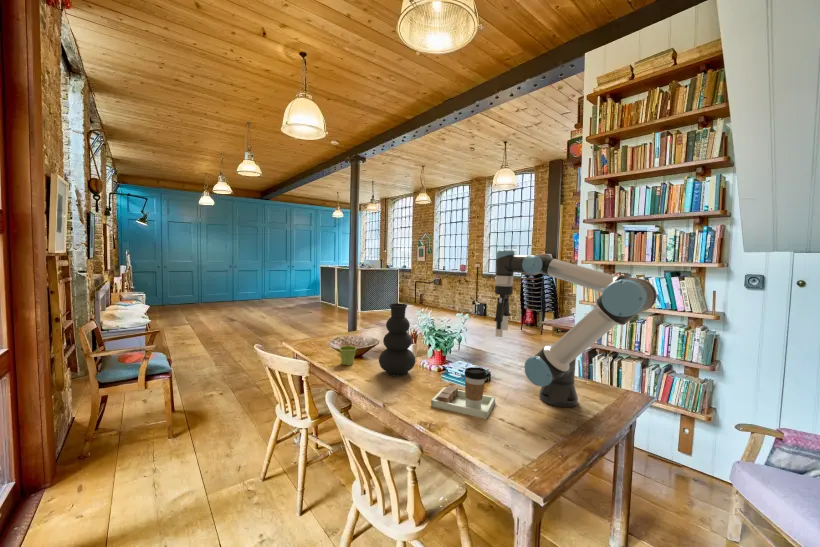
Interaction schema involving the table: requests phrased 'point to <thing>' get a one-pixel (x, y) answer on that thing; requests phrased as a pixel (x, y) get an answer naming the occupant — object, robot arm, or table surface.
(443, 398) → the walnut block
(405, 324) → the vase
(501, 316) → the robot arm
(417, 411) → the table surface
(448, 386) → the walnut block
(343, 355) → the plant pot
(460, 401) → the tray
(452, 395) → the walnut block
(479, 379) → the coffee cup
